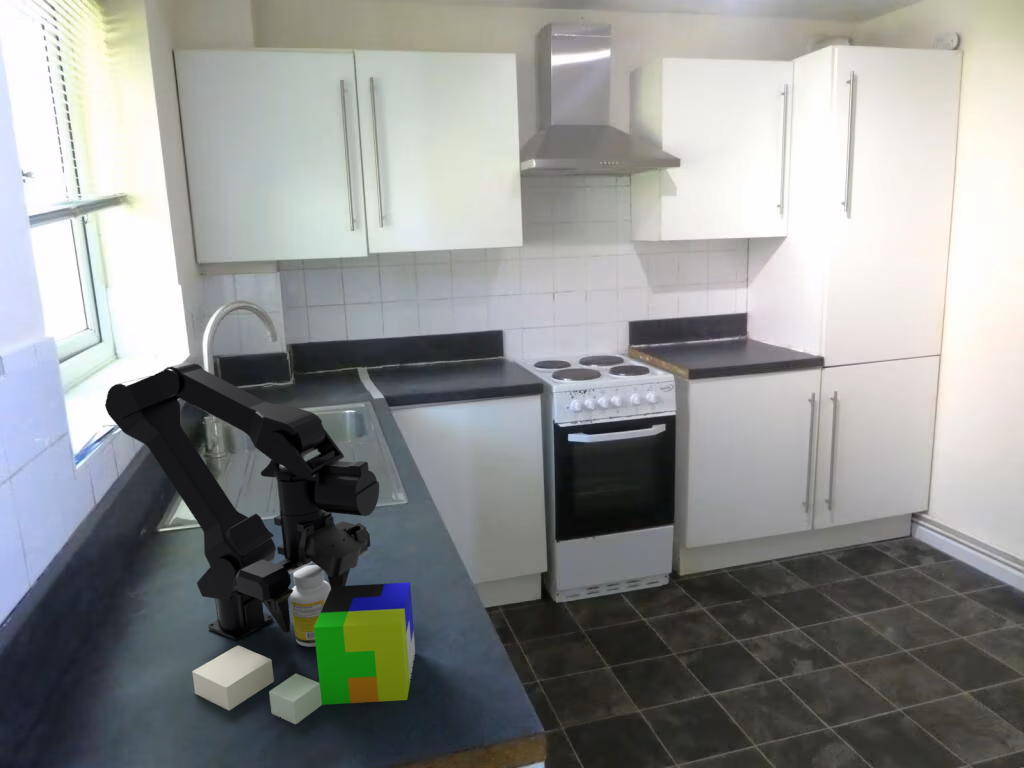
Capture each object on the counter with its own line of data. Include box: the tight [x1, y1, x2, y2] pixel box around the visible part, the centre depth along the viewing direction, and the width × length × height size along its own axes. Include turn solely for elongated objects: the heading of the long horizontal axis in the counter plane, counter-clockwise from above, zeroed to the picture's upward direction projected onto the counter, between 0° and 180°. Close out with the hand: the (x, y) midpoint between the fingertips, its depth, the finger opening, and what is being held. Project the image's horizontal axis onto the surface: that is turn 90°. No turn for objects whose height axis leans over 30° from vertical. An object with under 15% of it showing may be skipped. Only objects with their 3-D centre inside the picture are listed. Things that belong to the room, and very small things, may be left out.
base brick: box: [191, 645, 275, 711], centre depth 89 cm, size 6×6×3 cm
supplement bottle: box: [289, 564, 331, 648], centre depth 99 cm, size 5×5×10 cm
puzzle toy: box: [314, 582, 416, 706], centre depth 90 cm, size 10×10×10 cm
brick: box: [268, 673, 323, 725], centre depth 85 cm, size 4×4×3 cm
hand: (313, 615), depth 100 cm, fingers open, 9 cm apart
